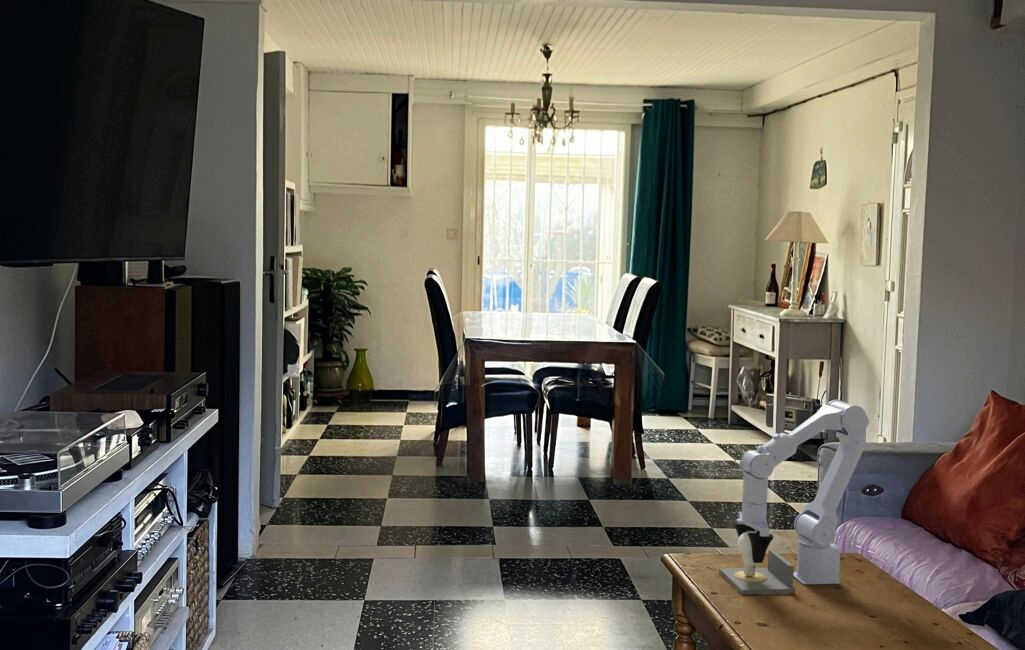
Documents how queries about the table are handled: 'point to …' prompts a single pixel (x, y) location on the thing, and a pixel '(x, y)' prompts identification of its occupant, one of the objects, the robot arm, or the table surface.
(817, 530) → the robot arm
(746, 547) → the lightbulb
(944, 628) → the table surface
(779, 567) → the lamp base
